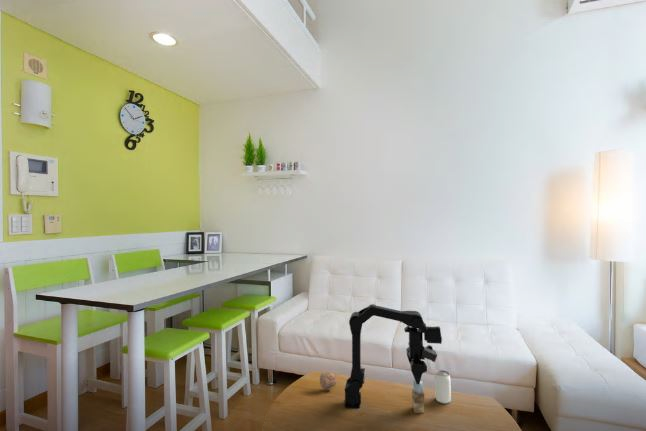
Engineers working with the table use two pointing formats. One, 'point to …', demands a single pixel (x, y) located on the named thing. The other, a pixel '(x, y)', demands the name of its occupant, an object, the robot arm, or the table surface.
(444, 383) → the can
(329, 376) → the brown wrinkled rounded piece
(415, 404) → the tower base
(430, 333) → the robot arm
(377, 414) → the table surface
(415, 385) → the pale blue rounded blob
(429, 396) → the table surface
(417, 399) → the tower top
